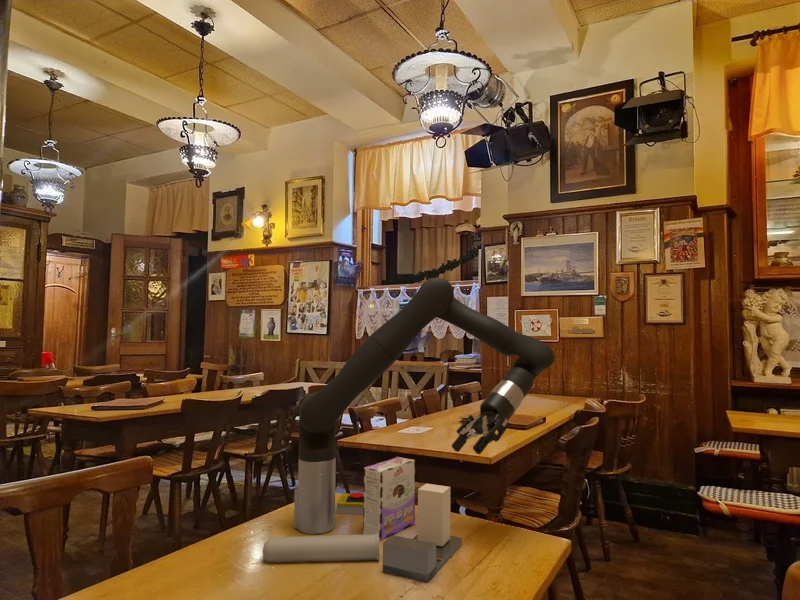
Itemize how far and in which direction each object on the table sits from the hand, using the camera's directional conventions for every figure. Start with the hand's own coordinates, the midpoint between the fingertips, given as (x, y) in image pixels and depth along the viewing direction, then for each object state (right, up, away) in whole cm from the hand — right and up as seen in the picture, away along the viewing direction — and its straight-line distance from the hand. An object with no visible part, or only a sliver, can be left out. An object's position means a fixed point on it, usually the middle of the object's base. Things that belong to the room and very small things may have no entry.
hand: (464, 450), depth 128 cm
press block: (-7, -19, -4) cm, 21 cm away
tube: (-32, -21, -10) cm, 40 cm away
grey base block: (-10, -21, -9) cm, 25 cm away
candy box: (-18, -22, +7) cm, 29 cm away
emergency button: (-26, -23, +22) cm, 41 cm away
